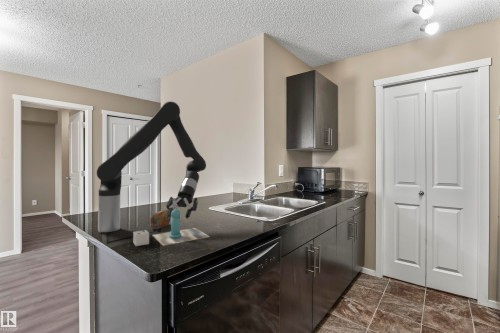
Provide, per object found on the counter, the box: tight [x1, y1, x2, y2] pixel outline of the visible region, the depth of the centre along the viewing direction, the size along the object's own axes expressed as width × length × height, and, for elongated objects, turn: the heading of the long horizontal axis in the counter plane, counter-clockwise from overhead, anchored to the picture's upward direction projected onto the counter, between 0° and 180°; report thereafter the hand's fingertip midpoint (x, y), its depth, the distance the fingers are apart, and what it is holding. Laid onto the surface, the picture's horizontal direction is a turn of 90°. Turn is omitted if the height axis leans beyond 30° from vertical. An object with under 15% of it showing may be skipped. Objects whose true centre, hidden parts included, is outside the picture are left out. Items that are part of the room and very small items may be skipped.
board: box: [151, 227, 211, 247], centre depth 110 cm, size 21×17×1 cm
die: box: [132, 229, 150, 247], centre depth 100 cm, size 5×5×5 cm
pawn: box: [169, 209, 181, 239], centre depth 109 cm, size 5×5×12 cm
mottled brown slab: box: [150, 209, 171, 231], centre depth 125 cm, size 15×3×8 cm, turn 168°
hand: (177, 217), depth 111 cm, fingers open, 8 cm apart
